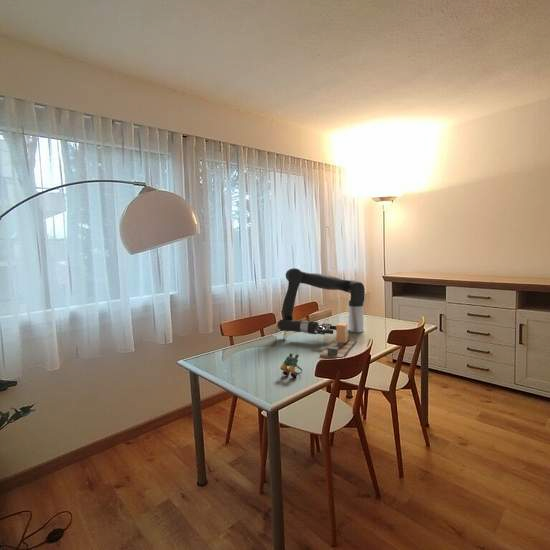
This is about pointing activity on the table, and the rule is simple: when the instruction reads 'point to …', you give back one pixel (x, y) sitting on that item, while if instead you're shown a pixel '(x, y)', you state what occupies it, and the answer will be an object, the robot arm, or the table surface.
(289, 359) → the green yellow plastic figure
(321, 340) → the table surface
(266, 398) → the table surface
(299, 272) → the robot arm
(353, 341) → the track
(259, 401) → the table surface
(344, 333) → the tan wooden tall block
